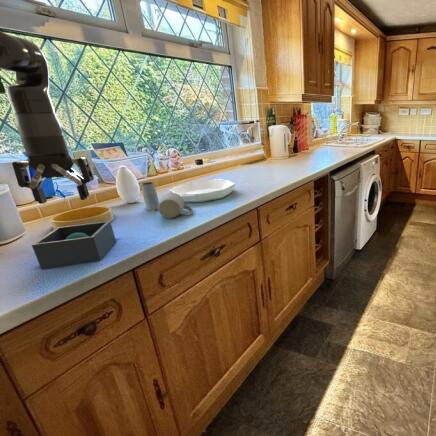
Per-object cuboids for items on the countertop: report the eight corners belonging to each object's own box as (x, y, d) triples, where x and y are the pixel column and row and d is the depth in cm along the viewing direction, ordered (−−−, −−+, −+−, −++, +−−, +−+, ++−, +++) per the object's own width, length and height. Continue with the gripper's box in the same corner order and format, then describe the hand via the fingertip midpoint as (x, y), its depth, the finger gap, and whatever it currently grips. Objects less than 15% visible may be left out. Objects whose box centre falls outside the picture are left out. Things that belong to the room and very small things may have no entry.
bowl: (44, 237, 93) (39, 224, 92) (68, 220, 108) (64, 209, 106) (104, 229, 98) (101, 217, 96) (120, 214, 112) (117, 204, 111)
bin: (41, 269, 73) (31, 245, 71) (65, 249, 84) (57, 227, 82) (100, 260, 76) (93, 237, 74) (116, 241, 87) (110, 221, 85)
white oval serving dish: (214, 206, 118) (212, 195, 116) (155, 206, 121) (152, 195, 120) (245, 187, 146) (244, 178, 145) (197, 187, 150) (195, 178, 149)
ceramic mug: (159, 220, 104) (154, 199, 101) (163, 213, 111) (159, 193, 108) (192, 217, 107) (188, 196, 104) (194, 210, 114) (191, 190, 111)
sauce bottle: (132, 199, 132) (121, 158, 126) (147, 200, 130) (136, 158, 124) (116, 204, 125) (104, 161, 119) (131, 205, 123) (119, 161, 117)
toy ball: (63, 259, 77) (56, 238, 75) (73, 250, 82) (67, 231, 80) (89, 255, 78) (83, 235, 76) (97, 247, 83) (91, 228, 81)
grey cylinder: (153, 211, 114) (146, 185, 111) (144, 210, 116) (137, 184, 112) (162, 207, 118) (156, 182, 115) (154, 207, 120) (148, 181, 116)
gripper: (-9, 136, 64) (20, 208, 70) (71, 133, 69) (92, 201, 74) (13, 134, 71) (37, 200, 77) (84, 131, 75) (102, 194, 81)
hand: (64, 201), depth 75 cm, fingers open, 8 cm apart
